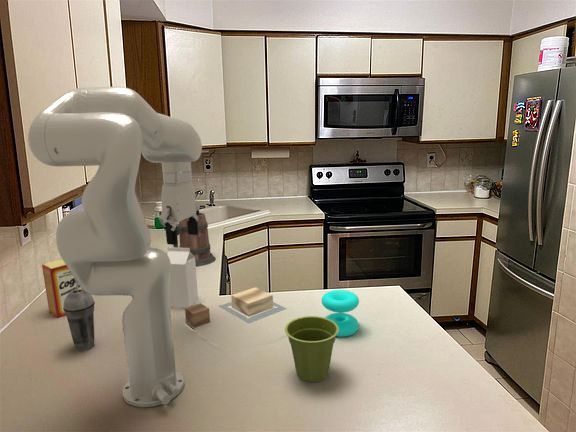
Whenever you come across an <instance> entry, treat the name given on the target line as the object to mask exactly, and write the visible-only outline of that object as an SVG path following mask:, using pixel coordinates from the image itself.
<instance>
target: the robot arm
mask: <svg viewBox="0 0 576 432" xmlns="http://www.w3.org/2000/svg"><path fill="white" fill-rule="evenodd" d="M154 109H155V108H152V106H151V105H150V104H149V103H148V102H147V101H146V100H145V99H144V98H143V97H142V96H141V95H140V94H139V93H138V92H136V91H135V90H133V89H131V88H129V87H124V86H96V87H95V86H94V87H77V88H74V89H71V90H68V91H67V92H65V93H64V94H62V95H61V96H59V97H58V98H57V99H55V100H54V101H53V102H52V103H50V104H49V105H48V106H47V107H45V109H43V110H42V111H40V112H39V113H38V114H37V116H35V118H34V119H33V120H32V122H31V124H30V126H29V128H28V135H27V140H28V146H29V149H30V151H31V153H32V155H33V156H34V158H35V159H37V161H39V162H41V164H44V165H47V166H51V167H61V168H63V167H89V166H90V167H91V166H98V169H97V171H96V172H95V174H94V175H93V177H92V178H91V179H90V181H89V182H88V184H87V185H86V187H85V188H84V191H83V193H82V195H81V204H82V208H83V210H77V211H72V212H70V213H68V214H66V215H65V216H64V217H62V218H61V220H60V221H59V223H58V225H57V228H56V233H55V239H56V240H55V241H56V242H55V243H56V247H57V251H58V253H59V256H60V258H61V260H63V261H64V263H65V264H66V266H67V267H68V269H69V270H70V272H71V273H72V274H73V276H74V277H75V279H76V280H77V282H78V283H79V285H80V286H81V287H82V289H83V290H84V291H86V292H87V293H89V294H91V295H92V296H100V297H101V296H103V297H104V296H107V297H108V296H123V297H124V296H127V297H128V296H129V297H132V299H131V301H130V302H129V303H128V305H127V306H126V307H125V309H124V311H123V312H122V313H123V314H122V317H121V318H122V319H121V322H122V323H121V324H122V329H123V336H124V337H123V338H124V345H125V353H126V356H125V357H126V363H127V372H128V378H129V379H128V381H127V382H126V383H125V384H124V386H123V388H122V396H123V400H124V401H125V402H126V403H127V404H128V405H131V406H133V407H136V408H152V407H156V406H160V405H163V406H165V405H168V404H169V403H170V402H171V400H173V399H174V398H177V396H178V395H179V394H180V393H181V392H182V391H183V389H184V387H185V377H184V375H183V374H182V373H181V372H180V371H178V370H176V368H177V367H176V360H175V359H176V358H175V348H174V337H173V329H172V328H173V326H172V315H171V307H170V299H169V290H170V275H171V262H170V259H169V257H168V255H167V254H166V252H165V251H164V250H162V249H159V248H156V247H151V243H152V242H151V241H152V239H151V232H150V229H149V226H148V224H147V221H146V218H145V216H144V214H143V211H142V209H141V206H140V203H139V200H138V198H137V195H136V182H137V178H138V174H139V170H140V169H139V168H140V164H141V163H140V162H141V157H142V156H143V158H144V159H145V160H146V161H148V162H150V163H154V164H161V168H162V179H163V184H162V187H161V197H160V198H161V214H160V215H159V216H158V220H159V222H160V226H161V227H162V228H163V230H164V231H165V238H166V244H167V245H172V246H173V245H177V244H178V245H179V239H178V236H177V230H175V228H176V225H178V223H179V222H180V221H182V220H185V219H187V218H188V221H187V227H188V234H191V235H198V222H197V221H198V215H199V213H200V207H201V203H199V202H198V201H197V200H196V193H195V192H196V191H195V188H194V184H193V173H192V172H193V171H192V163H193V162H196V161H198V160H199V159H200V157H201V155H202V152H203V151H202V149H203V145H202V140H201V137H200V135H199V133H198V132H197V130H196V129H195V128H194V126H192V124H190V123H188V122H186V121H185V120H182V119H178V118H174V117H172V116H168V115H166V114H163V113H158V112H157V111H156V110H154ZM171 224H172V225H171Z"/></svg>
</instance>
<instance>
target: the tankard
mask: <svg viewBox="0 0 576 432" xmlns="http://www.w3.org/2000/svg"><path fill="white" fill-rule="evenodd" d="M187 221H188V218H187V219H185V220H182V221H180V222H178V223H177V225H176V228H175V230H177V237H178V236H179V243H178V244H177V245H172V246H173V248H190V252H191V253H192V254H193V255H194V257H195V264H196V268H197V267H203V266H208V265H210V264H213V263H215V262H216V260H217V259H216V257H215V256H214V254H213V253H212V252H211V243H210V239H209V225H208V224H209V223H208V221H207V219H206V214H205V213H204V212H199V215H198V221H197V222H198V235H191V234H188V227H187ZM170 224H171V225H172V223H170ZM165 253H166V252H165ZM167 253H168V252H167ZM167 253H166V254H167Z"/></svg>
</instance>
